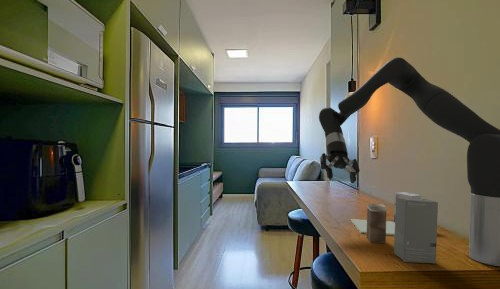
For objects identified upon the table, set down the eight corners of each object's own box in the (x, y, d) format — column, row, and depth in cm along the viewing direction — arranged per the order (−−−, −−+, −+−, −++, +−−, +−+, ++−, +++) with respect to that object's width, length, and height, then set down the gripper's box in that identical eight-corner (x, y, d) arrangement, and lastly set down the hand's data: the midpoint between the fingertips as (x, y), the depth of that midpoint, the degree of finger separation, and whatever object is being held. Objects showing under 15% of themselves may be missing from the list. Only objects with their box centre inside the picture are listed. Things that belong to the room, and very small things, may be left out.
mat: (393, 223, 117) (393, 221, 117) (411, 236, 99) (411, 235, 99) (350, 220, 119) (350, 218, 119) (360, 233, 101) (360, 231, 101)
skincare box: (403, 262, 76) (405, 200, 76) (392, 252, 83) (393, 195, 83) (438, 264, 75) (440, 201, 75) (423, 254, 82) (425, 196, 83)
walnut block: (381, 238, 96) (382, 204, 96) (385, 243, 91) (386, 207, 91) (366, 237, 96) (367, 203, 96) (370, 242, 92) (371, 206, 92)
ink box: (393, 221, 119) (394, 192, 119) (403, 221, 121) (404, 191, 121) (410, 227, 111) (411, 195, 111) (421, 226, 113) (422, 195, 113)
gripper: (322, 137, 115) (327, 171, 104) (357, 143, 117) (365, 177, 106) (315, 149, 121) (319, 183, 110) (348, 155, 122) (355, 189, 112)
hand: (342, 180), depth 108 cm, fingers open, 8 cm apart
